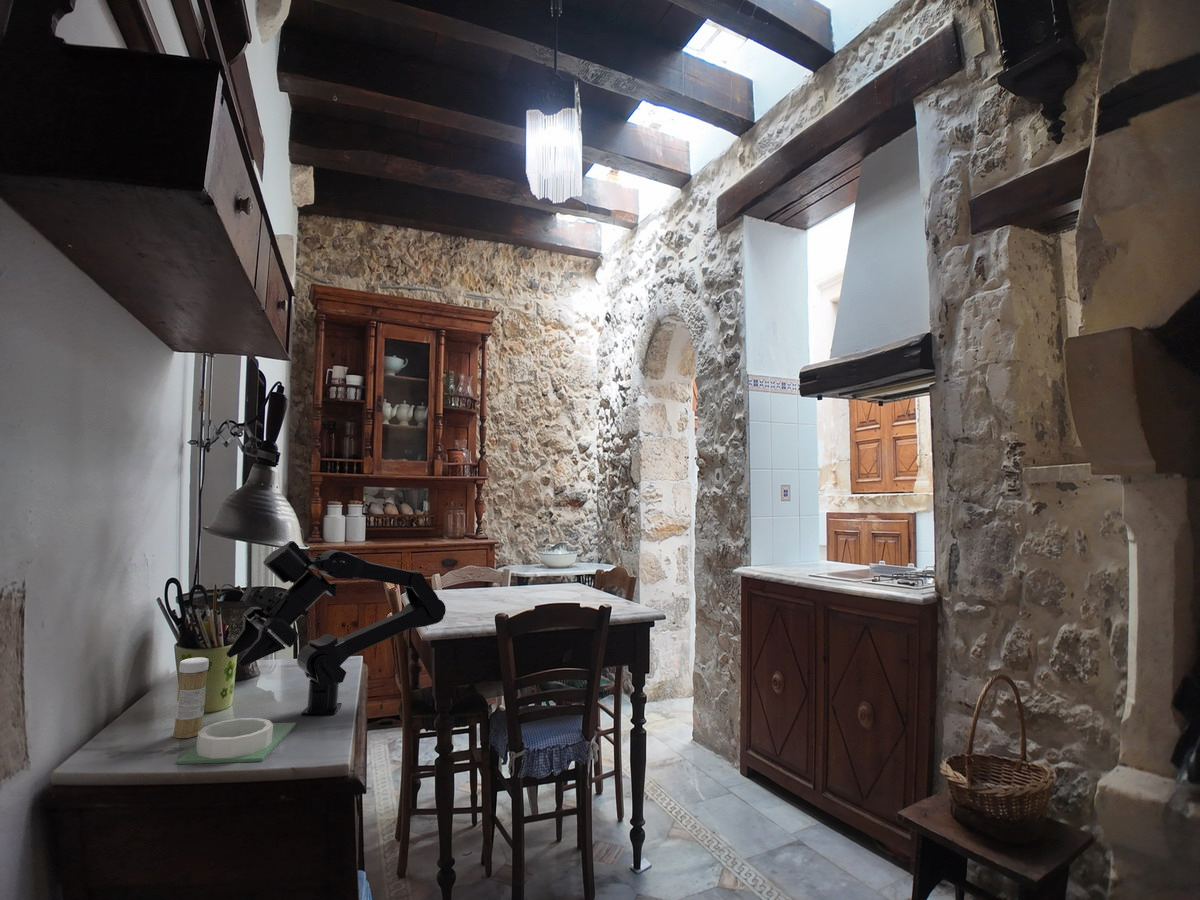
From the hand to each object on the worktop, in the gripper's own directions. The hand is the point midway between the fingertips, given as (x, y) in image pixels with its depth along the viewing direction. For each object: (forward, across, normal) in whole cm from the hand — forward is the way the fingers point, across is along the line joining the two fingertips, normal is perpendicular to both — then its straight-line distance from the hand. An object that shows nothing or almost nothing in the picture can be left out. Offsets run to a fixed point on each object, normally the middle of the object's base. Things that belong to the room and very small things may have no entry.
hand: (233, 660), depth 120 cm
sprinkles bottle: (+14, 0, +4) cm, 14 cm away
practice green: (+9, +10, +9) cm, 16 cm away
